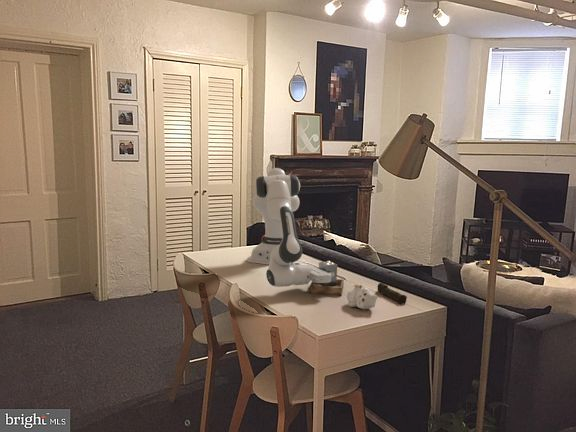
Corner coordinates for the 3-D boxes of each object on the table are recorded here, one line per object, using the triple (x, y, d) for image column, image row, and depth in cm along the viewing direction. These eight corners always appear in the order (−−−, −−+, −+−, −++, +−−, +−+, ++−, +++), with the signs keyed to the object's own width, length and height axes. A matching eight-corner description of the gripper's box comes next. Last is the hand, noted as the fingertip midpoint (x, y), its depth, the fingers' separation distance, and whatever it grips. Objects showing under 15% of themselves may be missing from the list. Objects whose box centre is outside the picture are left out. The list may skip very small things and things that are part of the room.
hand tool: (406, 304, 202) (407, 293, 201) (398, 304, 201) (399, 294, 200) (382, 291, 220) (383, 281, 219) (375, 291, 218) (375, 282, 218)
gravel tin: (324, 287, 213) (325, 262, 212) (318, 283, 219) (319, 259, 217) (336, 286, 216) (337, 261, 214) (329, 282, 221) (330, 258, 220)
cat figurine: (346, 281, 199) (374, 285, 187) (358, 288, 204) (386, 293, 192) (338, 302, 196) (366, 308, 185) (350, 309, 201) (378, 315, 189)
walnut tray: (309, 293, 212) (310, 285, 211) (313, 284, 226) (313, 277, 225) (341, 295, 210) (341, 288, 209) (343, 286, 223) (343, 279, 223)
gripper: (314, 273, 201) (342, 270, 207) (292, 262, 219) (318, 260, 225) (313, 287, 202) (341, 284, 208) (292, 275, 220) (318, 273, 226)
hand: (329, 271), depth 217 cm, fingers closed on gravel tin, 6 cm apart
